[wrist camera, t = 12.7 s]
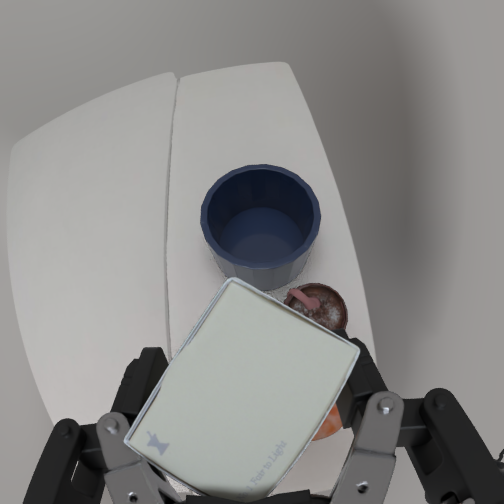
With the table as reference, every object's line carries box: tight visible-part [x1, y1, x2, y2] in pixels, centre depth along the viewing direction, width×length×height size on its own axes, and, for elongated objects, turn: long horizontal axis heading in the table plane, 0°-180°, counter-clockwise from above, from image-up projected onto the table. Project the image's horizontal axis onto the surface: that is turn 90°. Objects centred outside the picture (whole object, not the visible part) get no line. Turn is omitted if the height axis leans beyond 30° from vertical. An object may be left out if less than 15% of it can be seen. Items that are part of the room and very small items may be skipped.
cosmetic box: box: [124, 277, 360, 502], centre depth 12 cm, size 6×4×12 cm
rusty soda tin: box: [283, 283, 348, 330], centre depth 29 cm, size 6×6×14 cm
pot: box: [200, 164, 321, 291], centre depth 35 cm, size 14×14×10 cm
